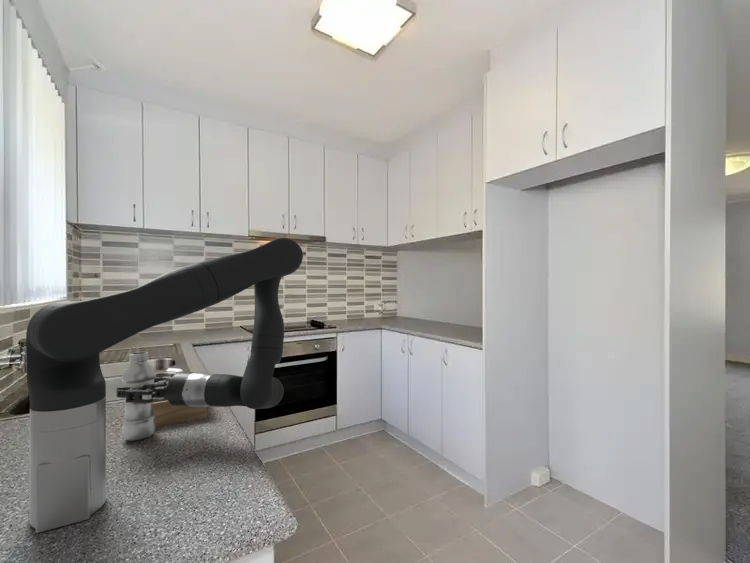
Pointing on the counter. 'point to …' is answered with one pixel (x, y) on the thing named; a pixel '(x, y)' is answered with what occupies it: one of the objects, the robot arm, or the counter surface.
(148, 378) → the plastic bottle
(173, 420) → the walled box
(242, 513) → the counter surface
